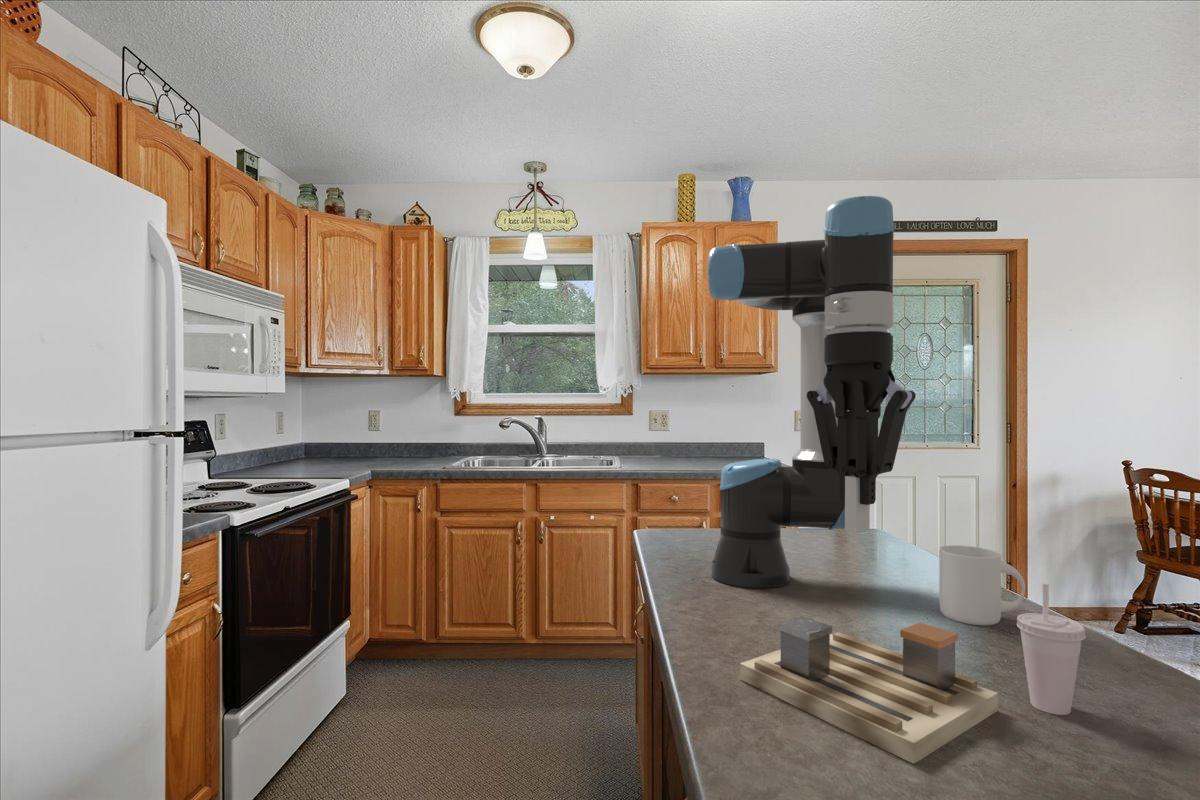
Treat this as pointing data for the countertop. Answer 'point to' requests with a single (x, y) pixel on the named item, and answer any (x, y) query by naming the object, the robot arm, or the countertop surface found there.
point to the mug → (974, 584)
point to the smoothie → (1050, 657)
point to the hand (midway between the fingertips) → (857, 530)
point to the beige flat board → (877, 698)
